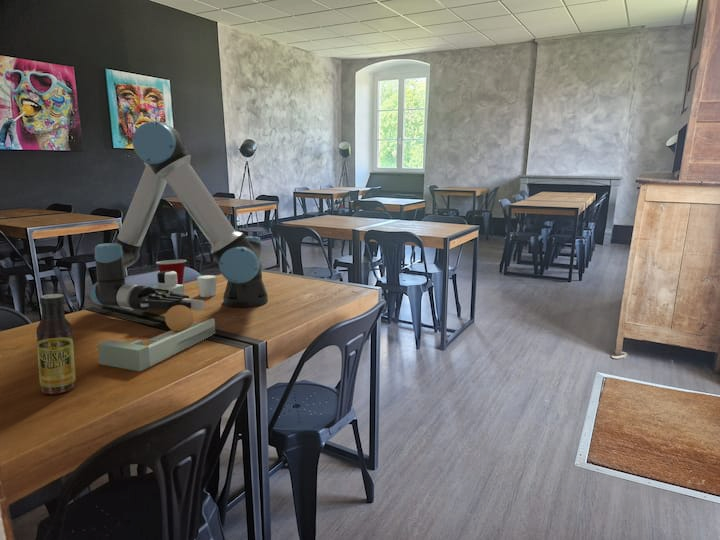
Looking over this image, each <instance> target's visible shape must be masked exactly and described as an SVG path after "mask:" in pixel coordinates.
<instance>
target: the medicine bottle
mask: <svg viewBox="0 0 720 540" xmlns="http://www.w3.org/2000/svg"><path fill="white" fill-rule="evenodd" d="M177 283H178V282H177V273H176V272H175V271H161V272H160V271H159V272H157V285H155V286H152V287H151V288H153V289H154V291H155V292H161V293H165V294H168V293H169V292H170V291H172V292H174V293H178V294H182V295H185V285H184V284H182V285H181V284H177Z"/></svg>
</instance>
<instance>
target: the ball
mask: <svg viewBox="0 0 720 540" xmlns="http://www.w3.org/2000/svg"><path fill="white" fill-rule="evenodd" d="M164 317H165V318H164V320H165V325H166V326H167V327H168V328H169V329H170V330H174V331H183V330H186V329H187V328H189V327H190V325H191V324H192V323H194V314H193V312H192V310H191V309H189V308H188V307H186V306H183V305H176V306H173V307H171V308H170V309H169V310H167V311H166V313H165V316H164Z"/></svg>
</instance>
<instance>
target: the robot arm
mask: <svg viewBox="0 0 720 540" xmlns="http://www.w3.org/2000/svg"><path fill="white" fill-rule="evenodd" d="M132 147H133V150H134V152H135V154H136V155H137V156H138V157H139V158H140V160H142V161H143V165H145V166H144V167H145V168H144V170H143V173H142V175H141V178H140V180H139V183H138V186H137V188H136V189H135V193H134V195H133V198H132V200H131V202H130V205H129V208H128V210H127V212H126V215H125V217H124V220H123V222H122V225H121V227H120V229H119V233H118V234H117V237H116V239H115V241H114V243H113V242H112V243H110V242H109V243H108V242H107V243H100V244H99V243H98V244H97V245H95V247H94V260H95V268H96V278H97V281H96V282H95V283H93V285H92V286H91V290H90V293H89V296H90V299H91V301H92V302H94V304H96V305H99V306H104V307H107V308H117V309H127V310H128V311H140V312H149V311H150V310H162V311H163V310H164V311H166V310H167V311H168V310H169V309H170V308H171V307H173V306H176V305H183V306H186V307H188V308H189V309H190V310H191V311H199V312H201V311H205V300H203V299H195V298H190V295H186V294H184V295H182V294H178V293H174V292H172V291H170V292H169V293H168V294H165V293H161V292H155V291H154V289H153V288H152V287H151V286H148V285H142V284H141V285H139V284H129V283H126V277H125V275H126V274H125V269H126V268H129V267H131V266H133V265H134V264H136V262H137V261H138V260H139V259H140V249H141V247H142V244H143V241H144V239H145V237H146V234H147V232H148V229H149V227H150V225H151V223H152V220H153V218H154V215H155V213H156V210H157V208H158V205H159V204H160V201H161V198H162V196H163V193H164V191H165V188H166V187H167V184H168V186H169V187H170V189H172V191H173V193H174V194H175V195H176V197H177V199H178V200H179V201H180V203H181V204H182V206H183V207H184V208H185V209H186V211H187V213H188V214H189V216H191V218H192V219H193V222H194V223H195V224H196V225H197V227H198V228H199V230H200V231H201V232H202V234H203V235H204V236H205V239H206V240H207V241H208V242H209V244H210V245H211V250H210V255H212V257H213V258H214V259H215V261H216V263H217V264H218V267H219V271H220V274H221V275H222V276H223V277H224V279H226V280H227V283H226V286H225V289H224V293H223V297H222V299H223V304H224V305H226V306H228V307H234V308H249V307H257V306H261V305H264V304H267V302H268V299H269V296H268V291H267V289H266V287H265V284H264V281H263V274H262V273H263V272H262V271H263V269H262V267H263V265H262V263H263V262H262V245H263V244H262V241H261V237H258V236H246V235H245V233H244V232H241V231H238V230H235V228H234V227H233V226H232V224H231V222H230V221H229V219H228V217H227V216H226V214H225V213H224V211H223V210H222V209H221V207H220V206H219V204H218V203H217V202H216V199H215V198H214V197H213V196H212V194H211V192H210V191H209V190H208V188H207V187H206V186H205V184H204V182H203V181H202V180H201V178H200V177H199V175H198V174H197V172H196V171H195V169H194V167H193V166H192V165H191V158H192V156H191V154H190V153H189V152H188V149H187V148H186V144H185V141H184V137H183V136H182V134H181V133H180V132H179V131H178V130H177V129H175V128H174V127H172V126H169V125H167V124H166V123H163V122H160V121H148V122H144V123H143V124H140V126H138V127H137V128H136V129H135V131H134V133H133V136H132Z"/></svg>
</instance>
